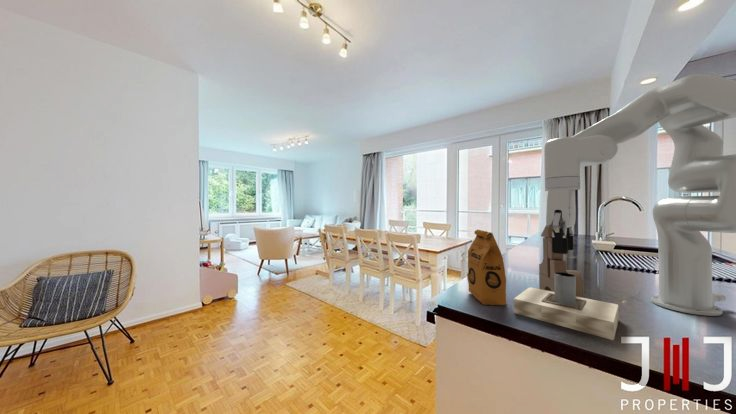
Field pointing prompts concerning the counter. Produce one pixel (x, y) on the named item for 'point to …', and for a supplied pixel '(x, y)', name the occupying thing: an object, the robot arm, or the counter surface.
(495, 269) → the coffee package
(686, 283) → the robot arm
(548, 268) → the wooden toy
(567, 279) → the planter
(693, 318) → the counter surface
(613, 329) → the rectangular box
